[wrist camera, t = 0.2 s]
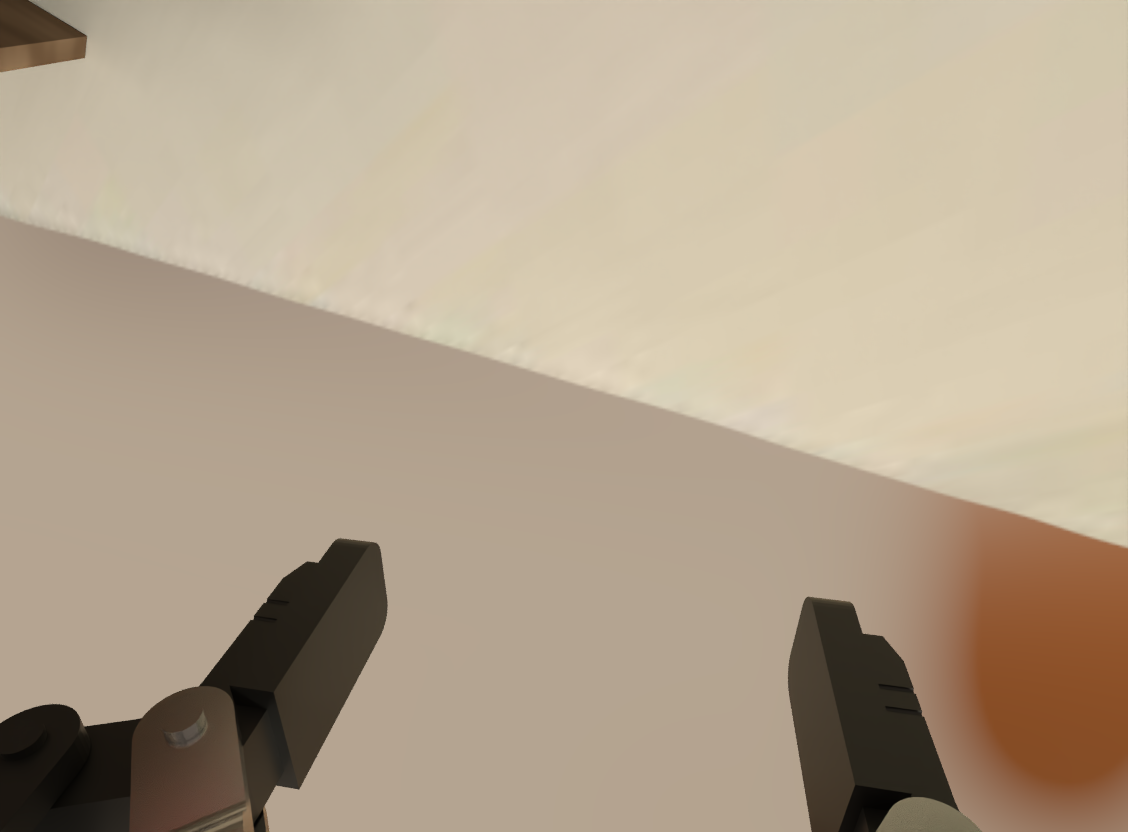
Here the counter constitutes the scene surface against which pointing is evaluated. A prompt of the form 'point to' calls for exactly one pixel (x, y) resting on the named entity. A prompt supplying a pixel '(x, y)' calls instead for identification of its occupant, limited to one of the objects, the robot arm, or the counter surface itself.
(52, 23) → the stepped shelf
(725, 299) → the counter surface
